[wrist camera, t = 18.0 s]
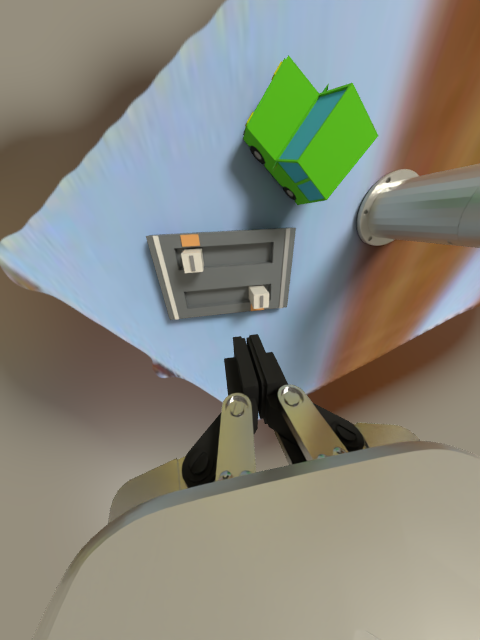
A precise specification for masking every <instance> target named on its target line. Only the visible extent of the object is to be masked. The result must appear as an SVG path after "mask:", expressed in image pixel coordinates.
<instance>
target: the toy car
mask: <svg viewBox="0 0 480 640" xmlns="http://www.w3.org/2000/svg"><path fill="white" fill-rule="evenodd" d="M328 85H329V84H328ZM328 85H327V86H326V88H325V89H324V90H323V92H322V93H318V92H317V90H316V89H315V88H314V87H313V85H312V84H311V83H310V82H309V80H308V79H307V78H306V77H305V75H304V74H303V73H302V72H301V70H300V69H299V68H298V67H297V65H296V64H295V63H294V62H293V60H292V59H291V58H290V57H289V55H288V57H287V59H285V58H284V60H283V62H282V61H281V62H280V64H279V66H278V68H277V70H276V71H275V73H274V75H273V77H272V81H271V83H270V85H269V87H268V88H267V90H266V92H265V94H264V95H263V97H262V99H261V101H260V102H259V104H258V106H257V108H256V109H255V111H254V112H252V114H251V116H250V117H249V119H248V121H247V123H246V125H245V126H246V128H245V131H244V134H243V135H244V137H243V139H244V141H245V142H246V143H247V144H248V146H249V147H250V150H251V152H252V154H253V155H254V157H255V158H256V159H257V160H258V161H259V162H260V163H262V164H264V166H265V167H266V169H267V170H268V171H269V172H270V173H271V174H272V176H273V177H274V178H275V179H276V180H277V181H278V183H279V184H280V185H281V186H282V187H283V186H284V187H283V189H284V191H285V193H286V194H287V195H288V196H289V197H290V198H292V199H294V200H295V202H296V204H297V205H300V204H306V203H312V202H318V201H324V200H327V199H328V198H329V196H330V195H331V194H332V193H333V191H334V190H335V189H336V188H337V186H338V185H339V184H340V183H341V181H342V180H343V179H344V178H345V177H346V175H347V174H348V173H349V172H350V170H351V169H352V168H353V167H354V165H355V164H356V163H357V162H358V160H359V159H360V158H361V157H362V155H363V154H364V153H365V152H366V150H367V149H368V148H369V147H370V145H371V144H372V143H373V142H374V140H375V139H376V138H377V137H378V134H377V132H376V130H375V128H374V126H373V124H372V122H371V120H370V118H369V116H368V113H367V111H366V109H365V107H364V105H363V103H362V101H361V99H360V97H359V95H358V93H357V91H356V89H355V87H354V85H353V83H350V84H347V85H344V86H341V87H338V88H335V89H332V90H328ZM327 90H328V91H327Z"/></svg>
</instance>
